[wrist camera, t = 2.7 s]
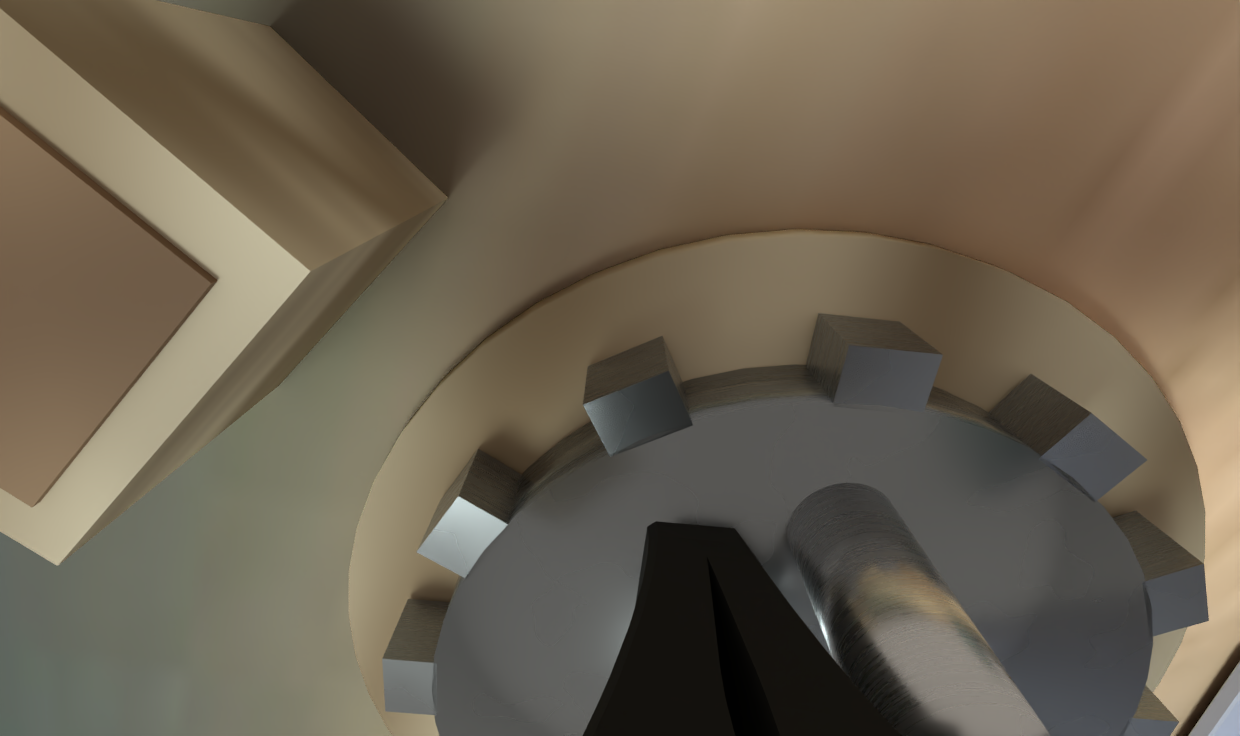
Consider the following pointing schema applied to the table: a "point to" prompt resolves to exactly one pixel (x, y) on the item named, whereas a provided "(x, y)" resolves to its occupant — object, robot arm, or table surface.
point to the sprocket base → (748, 338)
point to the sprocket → (813, 545)
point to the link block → (166, 243)
